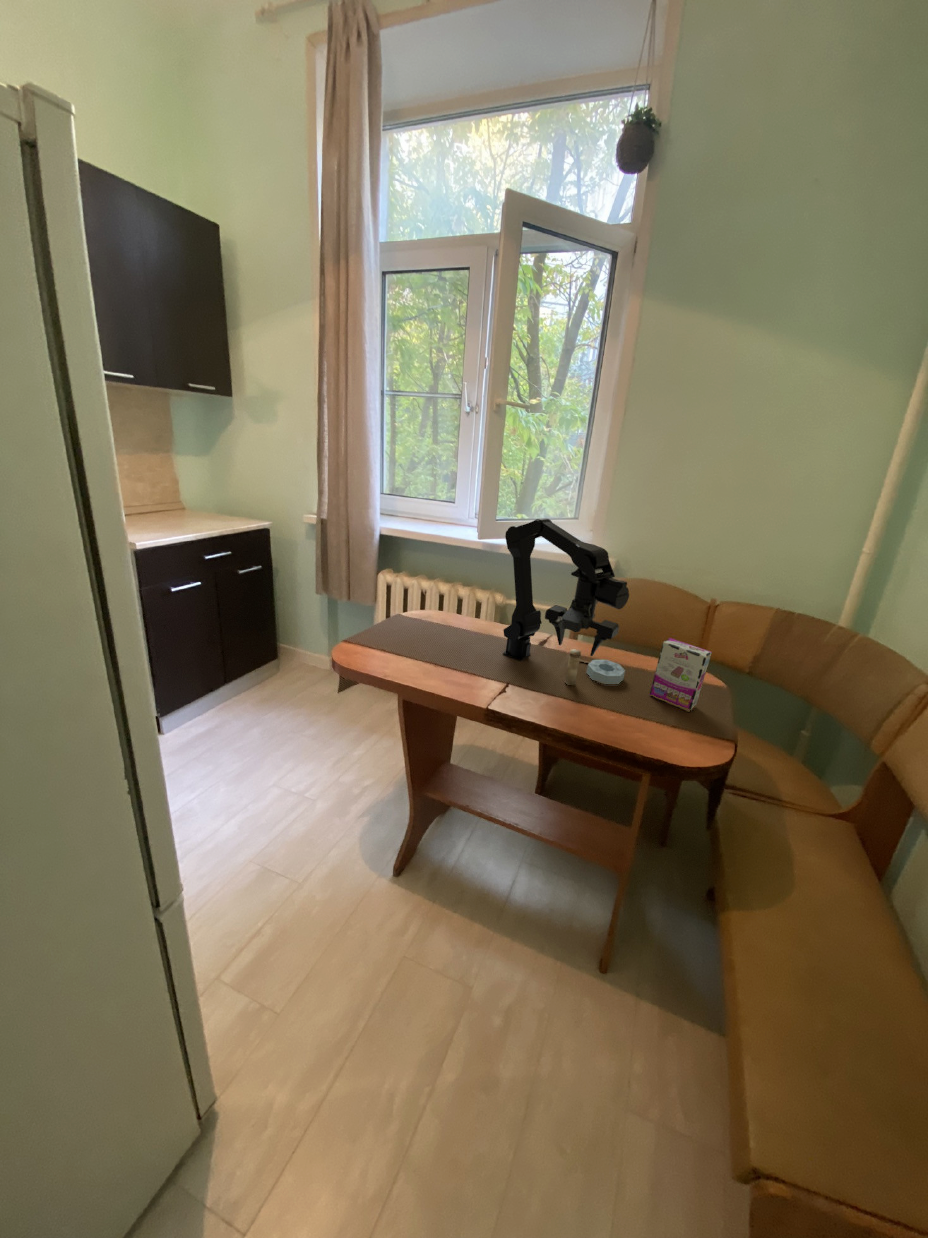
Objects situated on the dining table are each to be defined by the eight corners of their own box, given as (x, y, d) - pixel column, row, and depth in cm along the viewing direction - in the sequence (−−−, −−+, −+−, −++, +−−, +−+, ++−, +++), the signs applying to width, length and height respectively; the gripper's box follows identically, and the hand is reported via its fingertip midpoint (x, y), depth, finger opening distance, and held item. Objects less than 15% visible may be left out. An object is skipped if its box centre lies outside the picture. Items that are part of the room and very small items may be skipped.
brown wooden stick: (577, 661, 148) (578, 660, 147) (578, 660, 148) (578, 659, 148) (617, 671, 143) (618, 670, 143) (618, 670, 144) (618, 669, 144)
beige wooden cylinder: (562, 683, 134) (568, 651, 130) (567, 679, 136) (572, 648, 133) (572, 687, 133) (578, 654, 129) (576, 683, 135) (582, 651, 131)
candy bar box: (696, 706, 129) (713, 651, 122) (689, 713, 125) (706, 657, 119) (655, 689, 135) (669, 636, 129) (648, 695, 132) (662, 641, 126)
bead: (582, 676, 139) (584, 667, 138) (594, 665, 146) (596, 656, 145) (614, 688, 134) (617, 679, 133) (626, 676, 141) (628, 667, 140)
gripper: (539, 594, 123) (531, 648, 129) (610, 614, 114) (597, 672, 120) (558, 584, 132) (549, 636, 138) (625, 603, 122) (612, 657, 128)
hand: (575, 650), depth 131 cm, fingers open, 9 cm apart
